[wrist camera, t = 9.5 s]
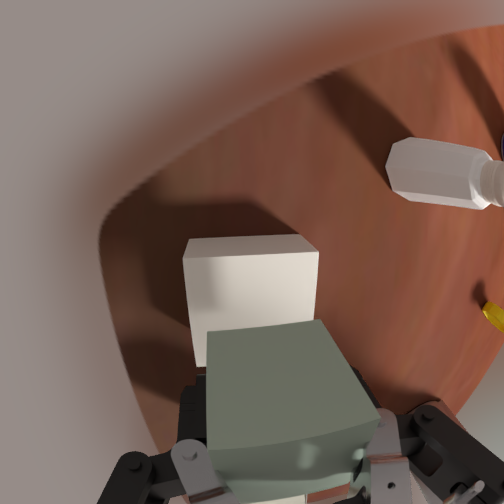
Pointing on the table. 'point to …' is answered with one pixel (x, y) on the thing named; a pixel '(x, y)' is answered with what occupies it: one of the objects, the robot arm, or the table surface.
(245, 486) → the green block
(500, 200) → the pepper shaker
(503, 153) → the energy drink
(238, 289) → the cream block
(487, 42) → the table surface
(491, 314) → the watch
